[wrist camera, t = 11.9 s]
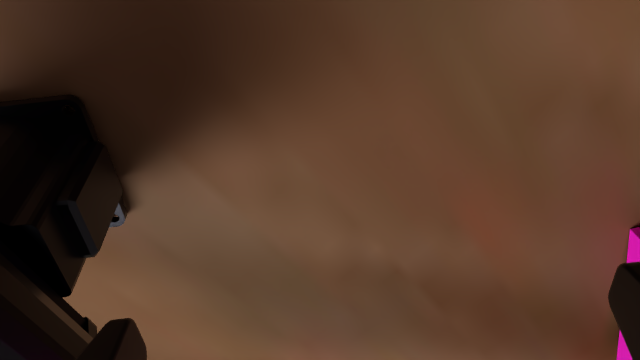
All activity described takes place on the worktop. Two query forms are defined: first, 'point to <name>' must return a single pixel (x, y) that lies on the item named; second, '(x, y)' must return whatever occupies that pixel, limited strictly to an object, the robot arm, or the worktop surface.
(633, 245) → the toy block
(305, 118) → the worktop surface
